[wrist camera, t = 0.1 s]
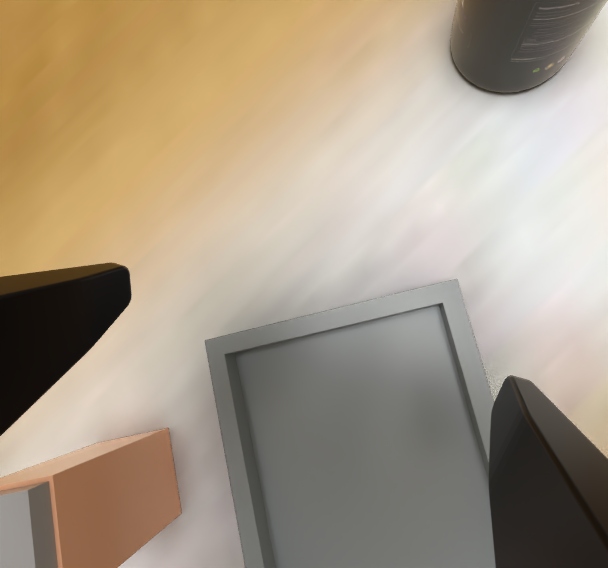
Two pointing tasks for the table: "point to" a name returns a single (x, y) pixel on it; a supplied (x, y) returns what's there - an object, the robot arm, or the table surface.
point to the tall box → (89, 504)
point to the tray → (359, 435)
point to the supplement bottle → (517, 39)
